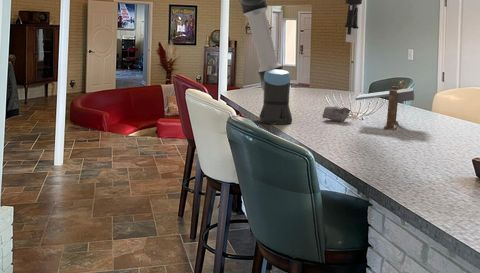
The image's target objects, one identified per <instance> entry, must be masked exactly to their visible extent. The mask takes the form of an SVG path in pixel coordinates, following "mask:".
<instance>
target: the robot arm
mask: <svg viewBox="0 0 480 273" xmlns="http://www.w3.org/2000/svg"><path fill="white" fill-rule="evenodd" d="M238 1H239V3H240V6H241V11H242V13H243V16H245V17H247V21H248V24H249V27H250V28H249V29H250V32H251V36H252V39H253V44H254V47H255V48H254V49H255V51H256V54H257V59H258V62H259V69H258V75H259V79H260V87H261V89H262V91H263V105H262V108H261V111H260V112H259V116H258V122H259V123H261V124H267V125H269V124H268V123H276V124H275V125H286V124H285V123H290V124H292V123H293V116H292V113H291V108H290V88H291V86H290V84H291V83H290V82H291V73H290V72H289V71H288V70H284V69H283V65H282V64H281V63H279V61H278V59H277V53H276V50H275V46H274V42H273V37H272V34H271V30H270V26H269V22H268V21H269V20H268V19H267V14H266V12H267V10H268V3H267V0H238ZM362 2H363V0H345V5H348V7H347V16H346V22H345V24H344V27H345V28H346V32H345V33H346V34H345V43H357V29H359V26H358V12H359V9H358V6H359V5H362ZM291 122H292V123H291Z"/></svg>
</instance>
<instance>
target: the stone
mask: <svg viewBox="0 0 480 273" xmlns="http://www.w3.org/2000/svg"><path fill="white" fill-rule="evenodd" d="M350 112H351V109H349V108H348V107H339V106H337V105H335V106H326V107H324V109H323V113H322V119H327V120H330V121H333V122H339V123H343V122H345V121H346V119H348V118H349V116H350Z"/></svg>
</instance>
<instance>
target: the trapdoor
mask: <svg viewBox="0 0 480 273" xmlns="http://www.w3.org/2000/svg"><path fill="white" fill-rule="evenodd" d="M384 97H389V90H385V91H378V92H371V93H363V94H358V96H356V97H355V98H354V99H355V101H361V100H367V99H368V100H369V99H375V98H376V99H377V98H384ZM414 100H415V91H414V87H410V88H401V89H400V88H399V90H397V98H396V102H398V103H401V102H411V101H414Z"/></svg>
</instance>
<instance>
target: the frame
mask: <svg viewBox="0 0 480 273" xmlns="http://www.w3.org/2000/svg"><path fill="white" fill-rule="evenodd" d="M397 90H400V86H395V85H393V86H391V89H389V90H388V91H389V96H388V104H387V105H388V106H387V115H386V123H385V124H384V127H383V130H387V131H396V130H397V127H398V125H399V120H397V116H398V103H399V102H396V98H397Z"/></svg>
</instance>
